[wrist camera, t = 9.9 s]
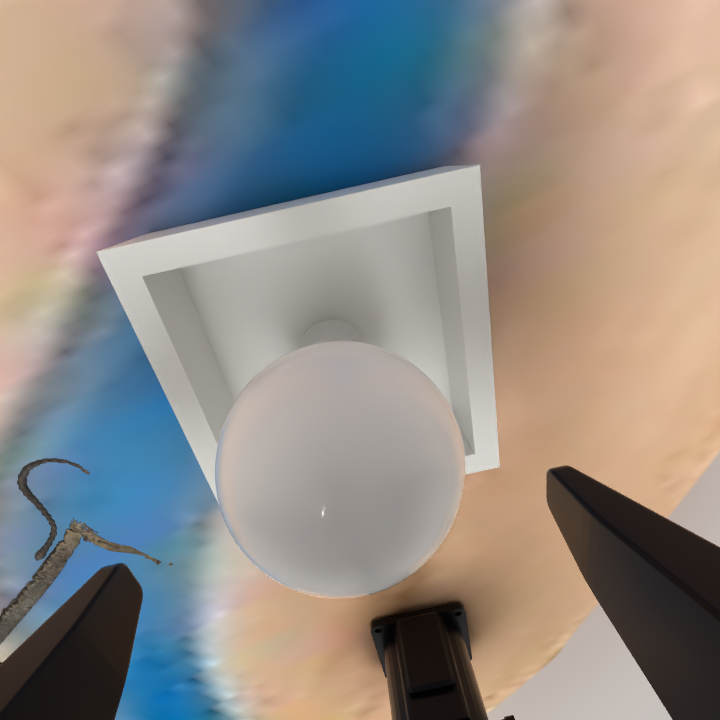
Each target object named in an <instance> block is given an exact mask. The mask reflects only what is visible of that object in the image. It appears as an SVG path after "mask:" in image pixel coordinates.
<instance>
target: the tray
mask: <svg viewBox="0 0 720 720" xmlns="http://www.w3.org/2000/svg"><path fill="white" fill-rule="evenodd" d="M96 253H97V255H98V257H99V259H100V261H101V263H102V265H103V267H104V269H105V271H106V273H107V275H108V277H109V279H110V281H111V283H112V285H113V287H114V290H115V292H116V294H117V296H118V298H119V300H120V302H121V304H122V306H123V308H124V310H125V312H126V314H127V316H128V318H129V320H130V322H131V325H132V327H133V329H134V331H135V333H136V335H137V337H138V339H139V341H140V343H141V345H142V347H143V349H144V351H145V353H146V355H147V357H148V359H149V362H150V364H151V366H152V368H153V370H154V372H155V374H156V376H157V378H158V380H159V382H160V384H161V386H162V388H163V390H164V392H165V394H166V396H167V399H168V401H169V403H170V405H171V407H172V409H173V411H174V413H175V415H176V417H177V419H178V421H179V423H180V425H181V427H182V429H183V431H184V433H185V436H186V438H187V440H188V442H189V444H190V446H191V448H192V450H193V452H194V454H195V456H196V458H197V460H198V462H199V464H200V466H201V468H202V470H203V473H204V475H205V477H206V479H207V481H208V483H209V485H210V487H211V489H212V491H213V493H214V495H215V497H216V499H217V501H218V497H217V492H216V484H215V461H216V452H217V446H218V441H219V437H220V433H221V430H222V427H223V424H224V422H225V419H226V417H227V415H228V413H229V411H230V409H231V407H232V405H233V403H234V402H235V400H236V398H237V397H238V395H239V394H240V393H241V391H242V390H243V389H244V387H245V386H246V385H247V384H248V383H249V382H250V380H251V379H252V378H253V377H254V376H255V375H256V374H257V373H259V372H260V371H261V370H262V369H263V368H264V367H266V366H267V365H268V364H270V363H271V362H273V361H274V360H276V359H277V358H279V357H281V356H282V355H284V354H286V353H288V352H290V351H293V350H295V349H298V348H300V347H301V343H302V340H303V338H304V336H305V334H306V333H307V331H308V330H309V329H310V328H311V327H312V326H314V325H315V324H317V323H319V322H321V321H325V320H332V319H333V320H341V321H345V322H347V323H349V324H351V325H352V326H354V327H355V328H356V329H357V330H358V332H359V333H360V334H361V336H362V338H363V342H365V343H369V344H373V345H377V346H380V347H383V348H385V349H388V350H390V351H392V352H395V353H397V354H398V355H400V356H402V357H404V358H405V359H407V360H409V361H410V362H412V363H413V364H414V365H416V366H417V367H418V368H419V369H420V370H422V371H423V372H424V373H425V374H426V375H427V376H428V377H429V378H430V379H431V380H432V381H433V382H434V384H435V385H436V386H437V387H438V388H439V390H440V391H441V393H442V394H443V395H444V397H445V398H446V400H447V402H448V404H449V405H450V407H451V409H452V411H453V413H454V415H455V418H456V420H457V423H458V426H459V429H460V432H461V436H462V440H463V445H464V452H465V475H466V474H470V473H475V472H479V471H484V470H488V469H493V468H498V467H500V464H499V449H498V433H497V418H496V403H495V388H494V372H493V357H492V342H491V326H490V311H489V296H488V280H487V265H486V250H485V234H484V219H483V204H482V189H481V173H480V165H459V166H442V167H437V168H433V169H428V170H424V171H420V172H415V173H411V174H406V175H402V176H398V177H393V178H389V179H384V180H380V181H376V182H371V183H367V184H362V185H358V186H354V187H349V188H345V189H340V190H336V191H332V192H327V193H323V194H318V195H314V196H310V197H305V198H301V199H296V200H292V201H288V202H283V203H279V204H274V205H270V206H266V207H261V208H257V209H252V210H248V211H244V212H239V213H235V214H230V215H226V216H222V217H217V218H213V219H208V220H204V221H200V222H195V223H191V224H186V225H182V226H178V227H173V228H169V229H164V230H160V231H156V232H151V233H147V234H144V235H141V236H139V237H136V238H133V239H130V240H128V241H125V242H122V243H119V244H117V245H114V246H111V247H108V248H106V249H103V250H100V251H97V252H96ZM218 503H219V502H218Z"/></svg>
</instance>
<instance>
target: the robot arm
mask: <svg viewBox="0 0 720 720" xmlns="http://www.w3.org/2000/svg"><path fill="white" fill-rule="evenodd" d="M547 503H548V506H549V509H550V511H551V513H552V515H553V517H554V519H555V521H556V523H557V525H558V527H559V529H560V531H561V533H562V535H563V537H564V539H565V541H566V543H567V545H568V547H569V549H570V551H571V553H572V555H573V557H574V559H575V561H576V563H577V565H578V567H579V569H580V571H581V573H582V575H583V577H584V578H585V580H586V582H587V584H588V585H589V587H590V589H591V591H592V592H593V594H594V595H595V597H596V599H597V600H598V602H599V603H600V605H601V606H602V608H603V610H604V611H605V613H606V614H607V616H608V618H609V619H610V621H611V622H612V624H613V625H614V627H615V629H616V630H617V632H618V633H619V635H620V637H621V638H622V640H623V641H624V643H625V645H626V646H627V648H628V649H629V651H630V652H631V654H632V656H633V657H634V659H635V660H636V662H637V664H638V665H639V667H640V668H641V670H642V671H643V673H644V675H645V676H646V678H647V679H648V681H649V683H650V684H651V686H652V687H653V689H654V691H655V692H656V694H657V695H658V697H659V699H660V700H661V702H662V703H663V705H664V706H665V708H666V710H667V711H668V713H669V714H670V716H671V718H672V719H673V720H720V547H718V546H716V545H715V544H713V543H711V542H709V541H707V540H705V539H704V538H702V537H700V536H698V535H696V534H694V533H693V532H691V531H688V530H687V529H685V528H683V527H681V526H680V525H677V524H676V523H674V522H672V521H670V520H669V519H667V518H665V517H663V516H661V515H659V514H657V513H656V512H654V511H652V510H650V509H648V508H646V507H645V506H643V505H641V504H639V503H637V502H635V501H633V500H632V499H630V498H628V497H626V496H624V495H622V494H621V493H619V492H617V491H615V490H613V489H611V488H609V487H608V486H606V485H604V484H602V483H600V482H598V481H596V480H595V479H593V478H591V477H589V476H587V475H585V474H584V473H582V472H580V471H578V470H576V469H574V468H572V467H570V466H560V467H556V468H551V469H549V470H548V471H547ZM142 599H143V592H142V587H141V585H140V584H139V582H138V581H137V579H136V578H135V576H134V575H133V574H132V572H131V571H130V569H129V568H128V566H127V565H125V564H123V563H118V564H114V565H109V566H105V567H103V568H101V569H100V570H99V571H97V572H96V573H95V574H94V575H93V576H92V577H91V578H90V579H89V580H88V581H87V582H86V583H85V584H84V585H83V586H82V587H81V588H80V589H79V590H78V591H77V592H76V593H75V594H74V595H73V596H72V597H70V598H69V599H68V600H67V601H66V602H65V603H64V604H63V605H62V606H61V607H60V608H59V609H58V610H57V611H56V612H55V613H54V614H53V615H52V616H51V617H50V618H49V619H48V620H47V621H46V622H44V623H43V624H42V625H41V626H40V627H39V628H38V629H37V630H36V631H35V632H34V633H33V634H32V635H31V636H30V637H29V638H28V639H27V640H26V641H25V642H24V643H23V644H22V645H21V646H19V647H18V648H17V649H16V650H15V651H14V652H13V653H12V654H11V655H10V656H9V657H8V658H7V659H6V660H5V661H4V662H3V663H2V664H1V665H0V720H114V719H115V716H116V712H117V709H118V706H119V702H120V699H121V695H122V692H123V688H124V684H125V681H126V676H127V672H128V668H129V663H130V658H131V653H132V648H133V643H134V639H135V634H136V629H137V624H138V619H139V614H140V609H141V604H142ZM370 627H371V634H372V637H373V640H374V643H375V646H376V649H377V652H378V655H379V659H380V662H381V665H382V668H383V671H384V674H385V677H386V678H387V682H388V690H389V698H390V705H391V713H392V720H488V717H487V714H486V711H485V707H484V704H483V701H482V697H481V694H480V691H479V687H478V684H477V681H476V678H475V674H474V671H473V668H472V664H471V659H472V655H471V648H470V641H469V634H468V627H467V620H466V613H465V609H464V606H463V605H462V604H461V603H455V604H450V605H446V606H441V607H436V608H432V609H427V610H422V611H418V612H413V613H409V614H404V615H399V616H395V617H390V618H385V619H381V620H376V621H373V622H372V623H371V625H370ZM503 720H515V719H514V716H513V715H510V716H506V717H504V719H503Z"/></svg>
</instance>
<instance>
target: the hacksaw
mask: <svg viewBox="0 0 720 720" xmlns="http://www.w3.org/2000/svg"><path fill="white" fill-rule="evenodd" d="M46 462H58V463H69V464H70V465H73V466H75V467H78V468H80V469H81V470H82V471H83V472H84V473H86V474H89V473H90V472H88V471H87V470H85V469H83V468H82V467H81V466H80V465H79V464H76V463H73V462H70V461H68V460H63V459H56V458H54V459H42V460H37V461H35V462H31V463H29V464H27V465H26V466H24V467H23V468H22V470H21V472H20V474H19V475H18V481H17V484H18V485H19V489H20V490H21V491H22V492H23V494H24V496H26V497H27V499H28V500H30V501H31V502H32V503H33V504H34V505H35V506H36V507H37V509H38V510H40V511H41V513H42V515H43V516H45V517H46V519H47V520H48V521H49V524H50V526H51V532H50V537H49V538H48V539H47V542H46V543H45V545H44V546H43V547H42V548H41V549H40V550H39V551H37V552H36V554H35V559H36V560H41V559H43V558H44V557H45V556H46V552H47V551H48V550H49V547H50V546H51V545H52V542H53V541H54V540H55V536H56V535H57V531H56V529H57V527H56V524H55V521H54V520H53V519H52V517H51V515H50V514H49V513H48V512H47V510H46V509H45V508H44V506H43V505H42V504H41V503H40V502H39V500H38V499H37V498H36V497H35V496H34V495H33V494H32V492H31V491H30V490H29V488H28V486H27V484H26V483H27V479H26V478H27V476H28V474H29V471H30V470H31V469H33V468H34V467H36V466H38V465H40V464H42V463H46ZM73 521H74V523H73V522H72V521H71V522H72V523H71V524H69V525H71V526H69V527H70V528H71V529H66V530H67V531H66V532H65V535H64V540H63V541H60V542H58V544H57V545H56V547H55V548H54V550H53V551H52V552H51V553H50V554H49V556H48V557H47V558H46V560H45V561H44V562H43V564H42V565H41V566H40V568H39V569H38V570H37V572H36V573H35V574H34V575H33V576H32V578H33V581H30V582H28V583H27V585H26V586H25V587H24V588H23V589H22V590H21V592H20V593H19V594H18V595H17V598H16V599H13V600H12V602H11V603H10V604H9V606H8V607H7V608H6V609H5V608H4V609H3V611H2V612H1V616H0V644H1V643H2V642H3V641H4V640H5V638H6V637H7V636H8V635H9V634H10V632H11V631H12V630H13V629H14V628H15V626H16V625H17V624H18V623H19V622H20V621H21V620H22V618H23V617H24V616H25V615H26V614H27V612H28V611H29V610H30V609H31V608H32V606H34V605H35V603H36V602H37V601H38V600H39V599H40V598H41V596H42V595H43V594H44V593H45V591H46V590H47V589H48V588H49V586H50V585H51V584H52V582H53V581H54V580H55V579H56V577H57V576H58V574H59V573H60V572H61V570H62V569H63V567H64V566H65V564H66V562H67V559H68V558H70V557H71V555H72V554H73V551H74V549H75V548H76V547H77V546H78V545H79V543H80V538H81V537H83V540H84V541H89V542H93V543H94V545H98V546H100V547H102V548H105V549H107V550H109V551H115V552H124V553H132V554H138V555H144V556H145V558H147V559H150V560H152V561H153V562H156V563H157V565H159V564H160V563H161V562H160V561H159V560H156V559H154V558H152V557H150V556H148V555H146V554H144V553H142V552H140V551H138V550H136V549H134V548H132V547H130V546H124V545H118V544H115V543H112V542H109V541H107V540H105V539H103V538H101V537H99V536H98V535H96V534H95V533H94V532H92V531H94V530H92V529H91V528H90V527H88V526H87V525H86V524H85V523H82V524H81V522H78V523H79V524H76V523H77V520H76V521H75V520H74V518H73ZM82 525H84V526H85V527H84V526H82ZM80 526H81V527H80ZM83 527H84V528H83ZM86 527H87V528H88V529H87V528H86ZM85 528H86V529H85ZM84 530H86V531H84ZM91 530H92V531H91ZM82 531H83V532H82ZM95 532H96V531H95ZM96 533H98V532H96ZM169 565H170V566H172V565H173V564H172V563H169Z"/></svg>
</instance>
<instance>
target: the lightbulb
mask: <svg viewBox="0 0 720 720" xmlns="http://www.w3.org/2000/svg"><path fill="white" fill-rule="evenodd" d="M215 484H216V492H217V497H218V502H219V506H220V510H221V513H222V516H223V518H224V521H225V523H226V526H227V528H228V530H229V532H230V534H231V535H232V537H233V539H234V541H235V542H236V544H237V545H238V547H239V548H240V549H241V551H242V552H243V553H244V554H245V556H246V557H247V558H248V559H249V560H250V561H251V562H252V563H253V564H254V565H255V566H256V567H257V568H258V569H259V570H261V571H262V572H263V573H264V574H266V575H267V576H268V577H270V578H271V579H273V580H274V581H276V582H278V583H279V584H281V585H283V586H285V587H287V588H289V589H292V590H294V591H297V592H300V593H303V594H306V595H310V596H314V597H320V598H328V599H348V598H357V597H363V596H367V595H371V594H375V593H378V592H381V591H383V590H386V589H388V588H390V587H392V586H395V585H397V584H398V583H400V582H402V581H403V580H405V579H407V578H408V577H409V576H411V575H412V574H414V573H415V572H416V571H417V570H419V569H420V568H421V567H422V566H423V565H424V564H425V563H426V562H427V561H428V560H429V559H430V558H431V557H432V556H433V555H434V554H435V552H436V551H437V550H438V549H439V547H440V546H441V544H442V543H443V541H444V540H445V538H446V537H447V535H448V533H449V531H450V530H451V528H452V526H453V523H454V521H455V519H456V516H457V514H458V511H459V508H460V504H461V500H462V496H463V491H464V484H465V452H464V445H463V440H462V436H461V432H460V429H459V426H458V423H457V420H456V418H455V415H454V413H453V411H452V409H451V407H450V405H449V404H448V402H447V400H446V398H445V397H444V395H443V394H442V393H441V391H440V390H439V388H438V387H437V386H436V385H435V384H434V382H433V381H432V380H431V379H430V378H429V377H428V376H427V375H426V374H425V373H424V372H423V371H422V370H420V369H419V368H418V367H417V366H416V365H414V364H413V363H412V362H410V361H409V360H407V359H405V358H404V357H402V356H400V355H398V354H397V353H395V352H392V351H390V350H388V349H385V348H383V347H380V346H377V345H373V344H369V343H365V342H363V338H362V336H361V334H360V333H359V332H358V330H357V329H356V328H355V327H354V326H352V325H351V324H349V323H347V322H345V321H341V320H333V319H332V320H325V321H321V322H319V323H317V324H315V325H314V326H312V327H311V328H310V329H309V330H308V331H307V333H306V334H305V336H304V338H303V340H302V343H301V347H300V348H298V349H295V350H293V351H290V352H288V353H286V354H284V355H282V356H281V357H279V358H277V359H276V360H274V361H273V362H271V363H270V364H268V365H267V366H266V367H264V368H263V369H262V370H261V371H260V372H259V373H257V374H256V375H255V376H254V377H253V378H252V379H251V380H250V382H249V383H248V384H247V385H246V386H245V387H244V389H243V390H242V391H241V393H240V394H239V395H238V397H237V398H236V400H235V402H234V403H233V405H232V407H231V409H230V411H229V413H228V415H227V417H226V419H225V422H224V424H223V427H222V430H221V433H220V437H219V441H218V446H217V452H216V461H215Z"/></svg>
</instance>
